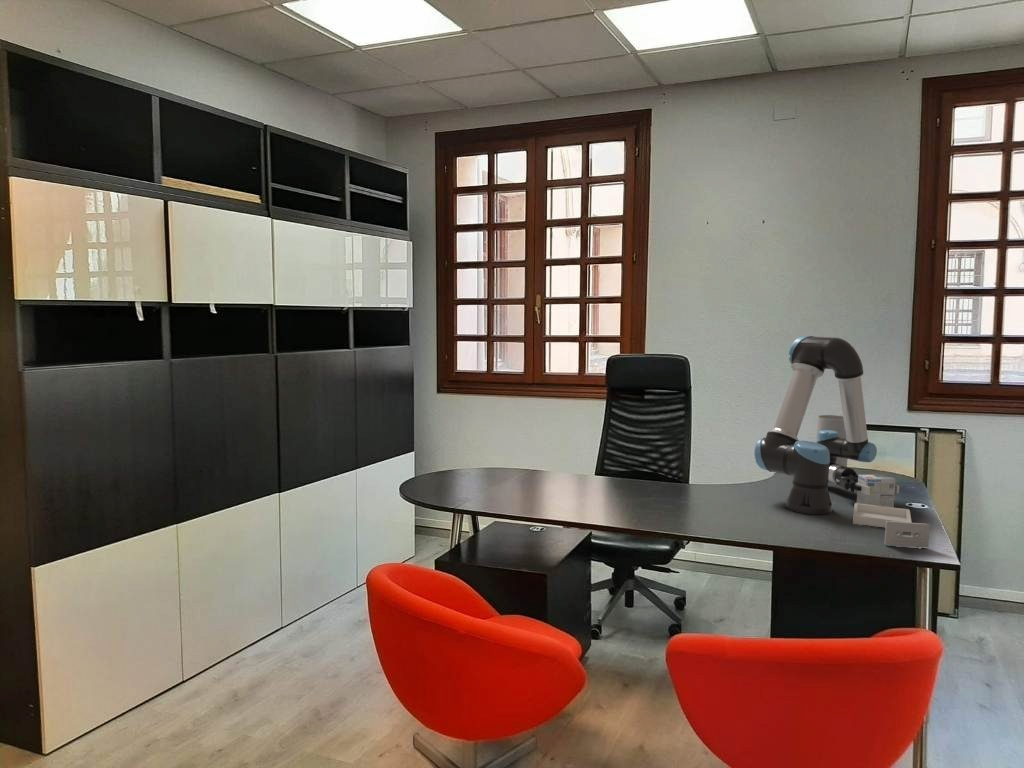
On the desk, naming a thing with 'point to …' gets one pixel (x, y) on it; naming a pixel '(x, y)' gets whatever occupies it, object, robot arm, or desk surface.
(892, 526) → the cassette
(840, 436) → the cylinder vase
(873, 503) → the light bulb box
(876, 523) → the holder tray
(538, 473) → the desk surface
